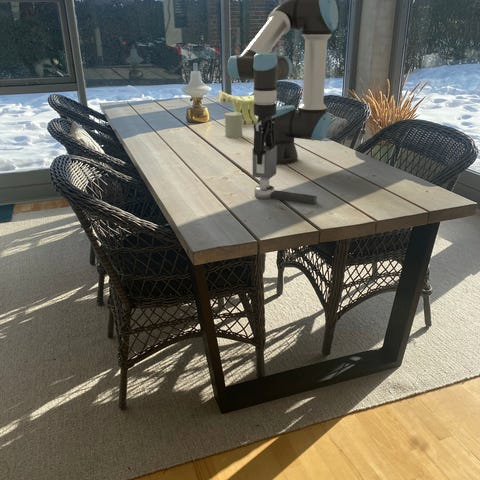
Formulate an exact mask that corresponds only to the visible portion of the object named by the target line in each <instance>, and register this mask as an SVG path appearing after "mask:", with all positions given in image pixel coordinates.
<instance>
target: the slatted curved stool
mask: <svg viewBox="0 0 480 480" xmlns="http://www.w3.org/2000/svg"><path fill="white" fill-rule="evenodd" d="M218 102H219V104H223V103H230V104H231V105H233V108H234V112H239V113H242V125H252V124H253V125H254V124H256V125H257V122H258V117H257V116H256V115H254V104H255V102H254V95H253V94H252V95H247V96H238V95H232V94H228V92H227V93H226V92H224V91H222V90H221V89H220V90H218Z"/></svg>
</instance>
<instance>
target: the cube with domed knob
mask: <svg viewBox="0 0 480 480" xmlns="http://www.w3.org/2000/svg"><path fill="white" fill-rule="evenodd" d="M253 152H254V147H253V148H252V177H253V178H259V179H261V178H266V179H269V180H270V179H272V178H273V177H274V176H275V175H276V174H277V164H276V163H277V146H271V145H265V146H264V155H265V173H264V174H263V173H257V155H255V154H254V153H253Z"/></svg>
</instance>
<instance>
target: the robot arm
mask: <svg viewBox="0 0 480 480" xmlns="http://www.w3.org/2000/svg"><path fill="white" fill-rule="evenodd" d="M338 23H339V9H338V5H337V2H336V0H285V1H283V2H282V3H279V5H277V6H276V7H275V8H273V10H272V11H271V12H270V13H269V14H268V16H267V19H266V23H265V24H264V25H263V26H262V27H261V29H260V30H259V31H258V33H257V34H256V35H255V37H254V38H253V39H252V40H251V41H250V43H249V44H248V45H247V47H245V49H244V50H243V51H242V53H241V54H239V55H232V56H230V57H229V58H228V61H227V63H226V68H227V73H228V75H229V76H230V77H231V78H233V79H239V80H243V79H244V80H253V92H252V95H254V102H255V104H254V115H255V117H257V119H258V122H257V124H254V123H253V148H254V152H253V151H252V154H253V153H254V154H255V155H257V173H263V174H264V173H265V155H264V146H265V145H271V146H277V163H276V165H289V164H294V163H296V162H298V160H299V159H298V158H299V155H298V151H297V148H296V144H295V139H299V140H300V139H301V140H308V141H323V140H324V139H325V138H326V137H327V135H328V133H329V130H330V127H331V122H332V114H331V113H330V112H329V111H327V110H328V109H327V107H328V106H327V105H326V104H325V103H324V99H325V96H324V95H325V85H326V83H325V81H326V69H327V68H326V67H327V66H326V65H327V54H328V53H327V50H328V41H329V39H330V38H331V37H332V34H333V31H335V30H336V29H338ZM289 31H301V36H302V37H303V39H304V61H303V79H302V98H301V100H302V102H301V103H300V104H299V106H298V107H297V108H298V109H296V105H292V104H290V105H289V104H287V105H278V106H277V103H276V102H277V98H278V97H277V95H278V93H277V83H278V82H279V81H283V80H285V79H287V78H289V77H290V76H291V74H292V73H293V68H294V67H293V66H294V65H293V62H292V61H291V60H290V58H289V57H287V56H284V55H283V56H281V55H278V56H277V54H276V53H275V52H271V51H272V49H273V48H274V47H275V46H276V44H277V43H278V42H279V41H280V39H281V38H282V36H285V35H286V34H287V33H288V32H289Z"/></svg>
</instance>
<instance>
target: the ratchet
mask: <svg viewBox="0 0 480 480" xmlns="http://www.w3.org/2000/svg"><path fill="white" fill-rule="evenodd" d="M254 197H255V198H256V199H257V200H270V199H273V200H279V201H286V202H292V201H293V203H294V202H295V203H299V202H300V203H302V204H305V205H306V204H307V205H313V206H314V205H315V204H317V200H318V199H317V198H318V196H317V195H312V194H305V193H298V192H292V191H291V192H290V191H283V190H282V191H281V190H275V187H274V186H272V185H271V184H270V179H266V178H259V185H256V186H255V187H254Z"/></svg>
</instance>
